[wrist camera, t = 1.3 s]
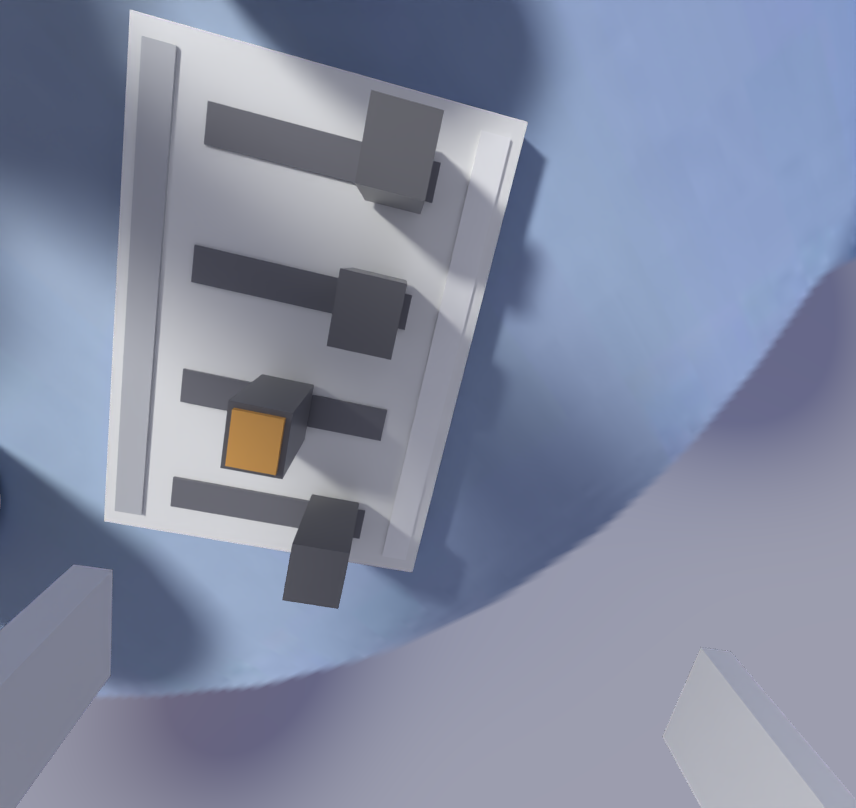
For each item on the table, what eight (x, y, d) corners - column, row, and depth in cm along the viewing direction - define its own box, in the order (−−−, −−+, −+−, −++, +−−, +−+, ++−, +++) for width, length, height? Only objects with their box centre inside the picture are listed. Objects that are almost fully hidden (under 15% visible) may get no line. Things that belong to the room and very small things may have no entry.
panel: (122, 505, 32) (102, 522, 30) (151, 29, 24) (127, 7, 22) (411, 555, 34) (412, 574, 32) (519, 132, 27) (528, 121, 25)
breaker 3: (364, 200, 25) (354, 183, 20) (378, 128, 24) (371, 89, 19) (420, 214, 25) (424, 201, 20) (435, 143, 24) (444, 110, 19)
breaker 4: (341, 330, 27) (326, 346, 22) (352, 267, 26) (340, 268, 21) (393, 341, 27) (391, 359, 22) (406, 280, 26) (407, 283, 21)
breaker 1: (254, 429, 28) (217, 470, 23) (261, 374, 27) (226, 402, 22) (304, 439, 29) (280, 482, 23) (313, 384, 28) (291, 415, 22)
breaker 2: (303, 542, 31) (282, 600, 25) (311, 494, 30) (292, 543, 24) (349, 549, 31) (338, 608, 26) (359, 502, 30) (350, 553, 25)
